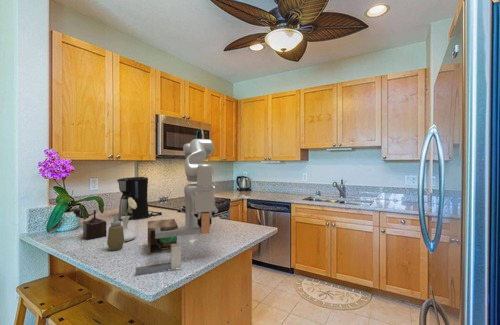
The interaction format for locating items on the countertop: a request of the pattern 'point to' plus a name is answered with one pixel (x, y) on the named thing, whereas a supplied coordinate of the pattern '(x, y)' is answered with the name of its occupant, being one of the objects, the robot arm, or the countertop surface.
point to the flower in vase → (127, 233)
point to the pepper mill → (92, 226)
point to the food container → (167, 240)
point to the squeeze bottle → (115, 235)
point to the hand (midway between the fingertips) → (204, 225)
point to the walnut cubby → (163, 225)
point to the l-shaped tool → (164, 266)
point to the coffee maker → (134, 197)
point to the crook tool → (201, 230)
